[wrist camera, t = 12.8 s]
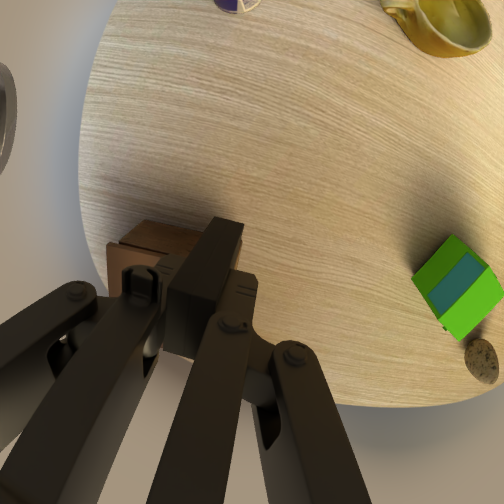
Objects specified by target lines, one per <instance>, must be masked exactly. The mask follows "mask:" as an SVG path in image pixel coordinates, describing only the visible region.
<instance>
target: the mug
mask: <svg viewBox="0 0 504 504" xmlns="http://www.w3.org/2000/svg"><path fill="white" fill-rule="evenodd" d="M380 3H381V6H382V8H383V10H384V12H386V13H387V14H388V15H390V16H392V17H394V18H396V20H397V22H398V24H399V25H400V27H401V28H402V30H403V31H404V32H405V34H406V35H407V36H408V37H409V39H410V40H411V42H412V43H413V44H414V45H415V46H416V47H417V48H419V49H420V50H421V51H423V52H425V53H427V54H429V55H432V56H435V57H441V58H452V57H463V56H468V55H472V54H475V53H477V52H479V51H481V50H482V49H483V48H484V47H486V46H487V45H488V44H489V43H490V41H491V39H492V24H491V21H490V16H489V14H488V12H487V10H486V9H485V7H484V5H483V3H482V2H481V0H380Z"/></svg>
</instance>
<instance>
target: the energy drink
mask: <svg viewBox="0 0 504 504" xmlns="http://www.w3.org/2000/svg"><path fill="white" fill-rule="evenodd" d="M214 2H215V4H216V5H217V6H218V8H220V9H221V10H223V11H225V12H228V13H233V14H240V13H245V12H248V11H250V10H252V9H254V8H255V7H257V6H258V5H259V4H260V2H261V0H214Z"/></svg>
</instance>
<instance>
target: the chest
mask: <svg viewBox="0 0 504 504" xmlns="http://www.w3.org/2000/svg"><path fill="white" fill-rule="evenodd" d="M202 234H203V232H199V231H194V230H190V229H185V228H181V227H176V226H172V225H167V224H163V223H158V222H153V221H149V220H143V221H142V222H141V223H139V224H138V225H137V226H136V227H135V228H133V229H132V230H131V231H130V232H129V233H128V234H126V235H125V236H124V237H123V238H122V239H120V240H119V244H121V245H125V246H130V247H134V248H139V249H143V250H147V251H152V252H156V253H161V254H165V255H168V254H170V253H171V254H175V255H179V256H182V257H186V258H187V256H188V255H189V253H190V252H191V250H192V249H193V247H194V246H195V244H196V243H197V241H198V240H199V239H200V237H201V236H202ZM241 246H242V241H240V245H239V249H238V253H237V257H236V261H235V266H234V269H235V270H237V265H238V261H239V256H240V251H241Z"/></svg>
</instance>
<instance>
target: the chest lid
mask: <svg viewBox="0 0 504 504" xmlns="http://www.w3.org/2000/svg"><path fill="white" fill-rule="evenodd" d="M106 254H107V275H108V289H109V297H119V296H120V294H121V293H122V270H123V269H124V268H126V267H128V266H132V265H147V266H151V267H154V266H155V265H156V263H157V262H158V261H159V260H160V258H161V257H163V256H166V255H165V254H161V253H156V252H152V251H147V250H143V249H139V248H134V247H130V246H125V245H121V244H117V243H112V242H109V243H108V244H107V245H106ZM160 348H163V343H162V345H161V347H160Z"/></svg>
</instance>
